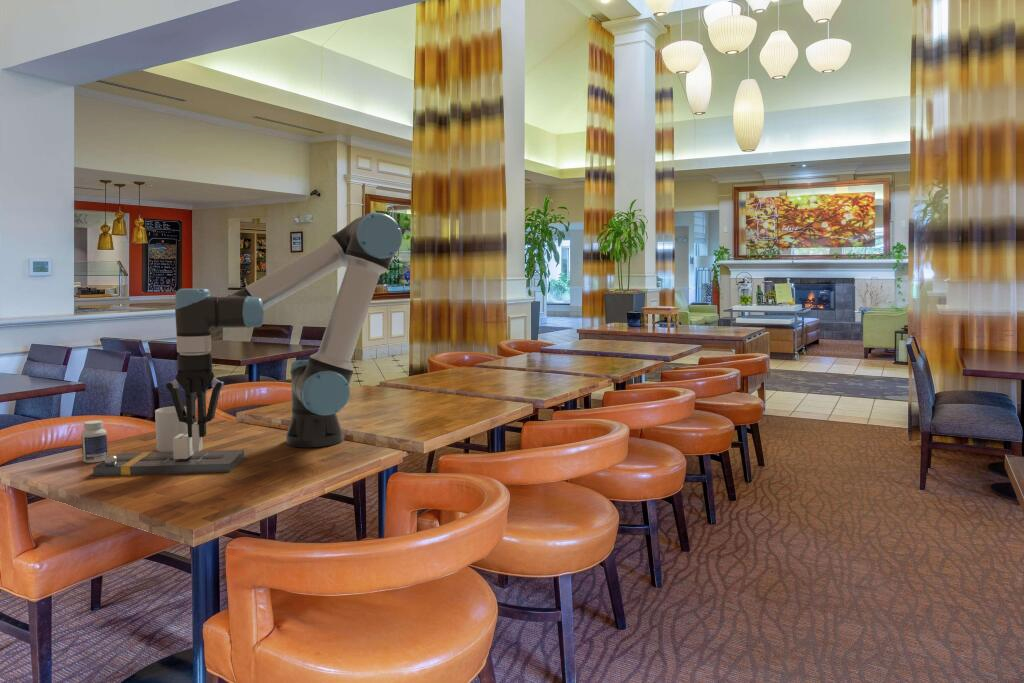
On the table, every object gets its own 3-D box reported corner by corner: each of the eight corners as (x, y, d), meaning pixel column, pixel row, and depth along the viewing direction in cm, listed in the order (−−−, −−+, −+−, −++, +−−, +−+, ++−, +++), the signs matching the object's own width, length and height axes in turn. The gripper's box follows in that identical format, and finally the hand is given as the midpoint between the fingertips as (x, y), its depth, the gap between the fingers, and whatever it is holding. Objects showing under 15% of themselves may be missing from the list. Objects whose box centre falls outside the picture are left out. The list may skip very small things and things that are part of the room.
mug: (194, 453, 178) (192, 411, 177) (155, 456, 174) (153, 413, 173) (195, 442, 189) (193, 403, 188) (158, 446, 185) (157, 405, 184)
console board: (244, 457, 174) (243, 442, 173) (230, 472, 161) (229, 455, 160) (118, 461, 170) (117, 445, 170) (93, 476, 157) (92, 459, 157)
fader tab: (193, 453, 168) (193, 433, 168) (186, 458, 163) (186, 437, 163) (181, 453, 168) (180, 433, 167) (173, 459, 163) (172, 438, 162)
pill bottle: (112, 459, 172) (110, 420, 171) (92, 464, 167) (89, 425, 166) (98, 456, 174) (96, 418, 173) (77, 461, 169) (75, 422, 168)
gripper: (227, 351, 168) (230, 445, 170) (171, 351, 166) (174, 447, 169) (218, 354, 161) (221, 453, 163) (159, 355, 159) (163, 454, 161)
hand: (197, 450), depth 166 cm, fingers closed
